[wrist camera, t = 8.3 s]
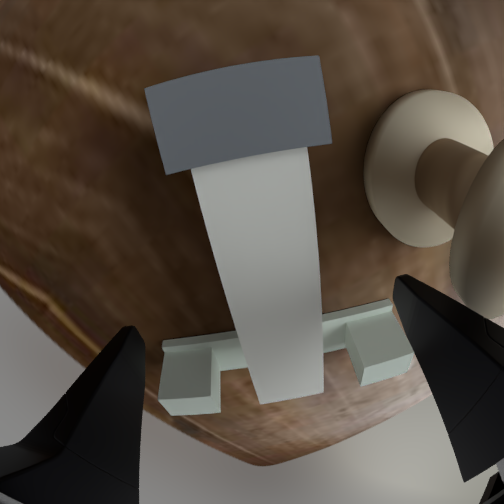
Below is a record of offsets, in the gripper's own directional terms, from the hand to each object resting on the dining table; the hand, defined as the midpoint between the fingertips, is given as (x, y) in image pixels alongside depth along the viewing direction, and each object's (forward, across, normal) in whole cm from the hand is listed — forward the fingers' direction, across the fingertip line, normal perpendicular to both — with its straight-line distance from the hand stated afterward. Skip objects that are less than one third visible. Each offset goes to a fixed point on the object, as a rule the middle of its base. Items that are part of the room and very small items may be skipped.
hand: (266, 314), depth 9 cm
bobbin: (+5, -9, -2) cm, 11 cm away
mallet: (+5, 0, 0) cm, 5 cm away
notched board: (+5, 0, +7) cm, 9 cm away
